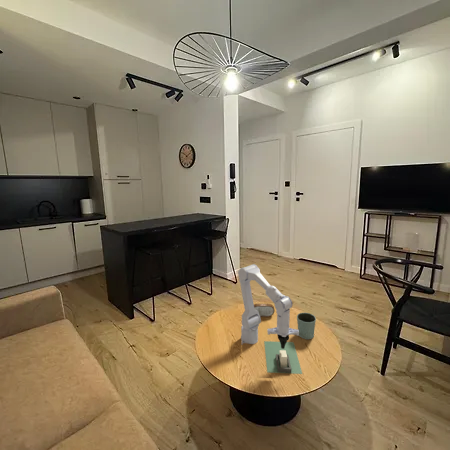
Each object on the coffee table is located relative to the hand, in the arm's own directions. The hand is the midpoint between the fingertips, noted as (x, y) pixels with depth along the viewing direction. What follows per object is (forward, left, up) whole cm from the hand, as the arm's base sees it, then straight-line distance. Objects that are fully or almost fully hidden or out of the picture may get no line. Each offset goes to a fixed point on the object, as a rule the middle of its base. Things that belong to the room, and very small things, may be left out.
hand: (282, 347), depth 119 cm
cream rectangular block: (0, -1, -8) cm, 8 cm away
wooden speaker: (-7, +42, -10) cm, 44 cm away
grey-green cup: (+16, +22, -10) cm, 29 cm away
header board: (0, +4, -9) cm, 10 cm away
